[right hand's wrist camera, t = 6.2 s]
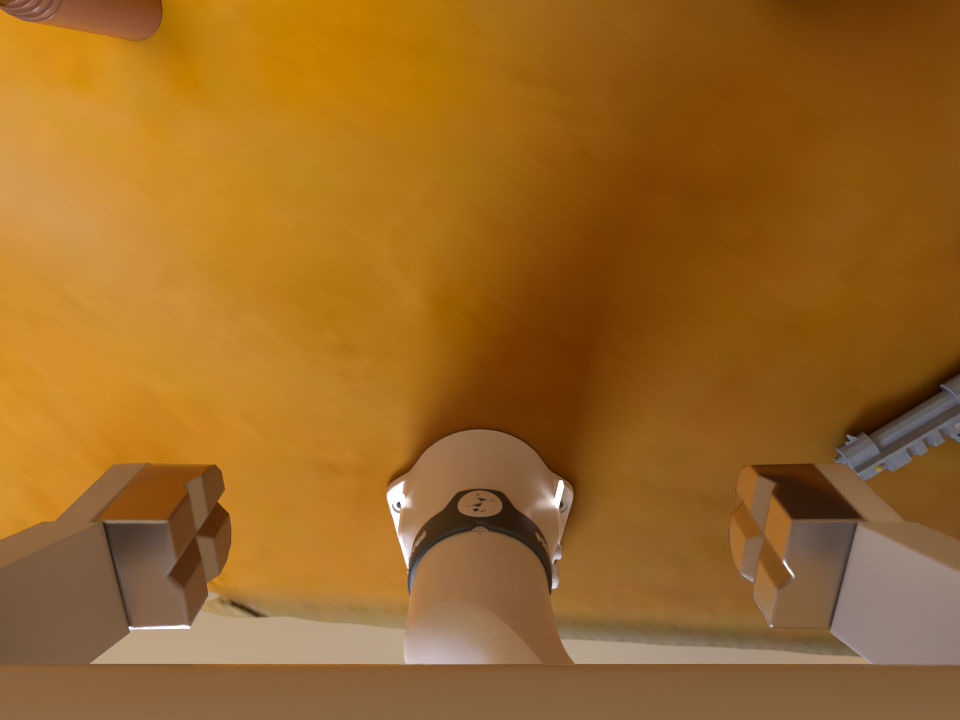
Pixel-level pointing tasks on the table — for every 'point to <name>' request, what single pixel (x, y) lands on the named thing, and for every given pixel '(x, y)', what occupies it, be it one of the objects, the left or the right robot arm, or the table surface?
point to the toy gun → (905, 434)
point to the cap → (4, 3)
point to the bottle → (93, 16)
